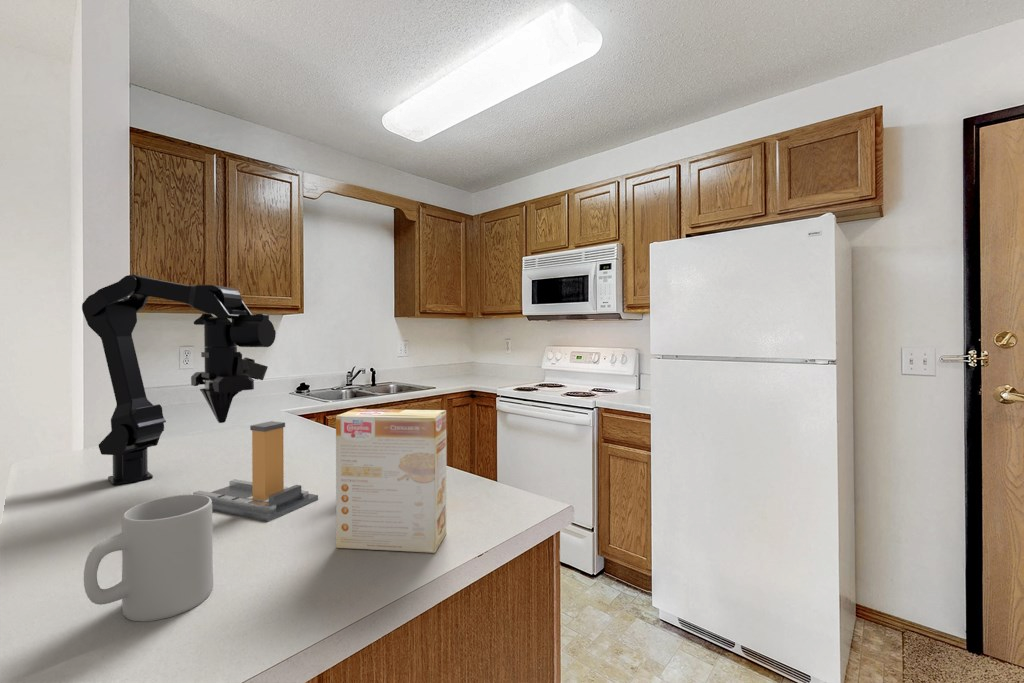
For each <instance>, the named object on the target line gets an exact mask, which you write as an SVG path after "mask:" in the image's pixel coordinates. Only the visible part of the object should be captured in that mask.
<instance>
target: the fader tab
mask: <svg viewBox="0 0 1024 683" xmlns="http://www.w3.org/2000/svg"><path fill="white" fill-rule="evenodd" d="M249 427H250V431H251V432H252V434H251V435H252V437H251V440H252V442H251V448H252V449H251V453H252V454H251V456H252V457H251V458H252V460H251V462H252V463H251V466H252V468H251V471H252V472H251V473H252V474H251V475H252V476H251V478H252V479H251V480H252V481H251V482H252V496H251V497H249V498H247V499H248V500H251V499H252V500H254V501H259V502H264V503H269V495H271V494H273V493H276V492H279V491H281V490H284V487H285V486H284V485H285V484H284V483H285V482H284V478H285V476H284V475H285V473H284V464H285V462H284V428H286V422H283V421H282V422H281V421H274V420H270V421H265V422H261V423H257V424H256V423H255V424H251V425H249Z"/></svg>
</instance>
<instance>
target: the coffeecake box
mask: <svg viewBox="0 0 1024 683" xmlns="http://www.w3.org/2000/svg"><path fill="white" fill-rule="evenodd" d="M335 490H336V491H335V531H336V532H335V534H336V535H335V542H336V543H335V545H336V546H335V547H336V549H350V550H351V549H352V550H353V549H355V550H356V549H357V550H373V551H374V550H375V551H391V552H392V551H393V552H394V551H395V552H412V553H430V554H436V553H437V551H438V548H439V546H440V544H441V543H442V541H443V540H444V538H445V537H446V535H447V410H446V409H443V410H442V409H397V408H396V409H395V408H394V409H390V408H388V409H387V408H384V409H383V408H380V409H379V408H368V409H367V408H354V409H351V410H348V411H346V412H343V413H339V414H337V415H336V416H335Z"/></svg>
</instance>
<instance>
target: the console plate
mask: <svg viewBox="0 0 1024 683" xmlns="http://www.w3.org/2000/svg"><path fill="white" fill-rule="evenodd" d="M228 482H229V485H228V486H226V487H223V488H220V489H216V490H213V491H205V490H196V491H194V492H192V495H204V496H207V497H209V498H211V500H212V511H213V512H220V513H224V514H228V513H229V514H230V515H233V514H234V516H238V515H239V517H244V518H248V517H249V518H250V519H254V520H258V519H259V520H258V521H263V520H264V521H263V522H271V521H273V520H275V519H277V518H279V516H280V517H281V516H284V515H287V514H288V512H289V513H291V512H293V511H295V510H298V509H300V508H302V507H304V506H306V505H308V504H310V503H313V502H316V501H318V500H319V495H318V494H313V493H309V490H308V491H307V490H303V489H302V485H301V484H294V485H292V486H290V487H288V486H284V490H281V491H279V492H276V493H273V494H271V495H269V503H264V502H259V501H254V500H252V499H251V500H248V499H247V498H249V497H251V496H252V481H249V480H248V481H247V480H242V479H231V480H229V481H228ZM272 519H273V520H272ZM270 520H271V521H270Z"/></svg>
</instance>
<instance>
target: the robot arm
mask: <svg viewBox="0 0 1024 683" xmlns="http://www.w3.org/2000/svg"><path fill="white" fill-rule="evenodd" d="M150 297H152V298H157V299H158V298H159V299H163V300H168V301H173V302H179V303H183V304H186V305H188V306H190V307H191V308H193V309H195V310H197V311H200V312H203V313H202V314H200V315H201V316H199V317H198V318H197V319H195V320H194V321H193V324H194V325H196V326H197V325H198V326H203V329H204V331H203V332H204V333H203V334H204V335H203V336H204V340H203V342H204V348H203V351H201V352H200V353H201V356H200V357H201V358H204V371H196V372H194V374H193V373H192V375H191V376H190V382H191V383H190V384H191V386H193V387H198V386H200V385H204V388H200V389H199V391H200V392H201V394H202V396H203V397H204V399H205V400H206V402H207V404H208V406H209V408H210V409H211V411H212V413H213V415H214V417H215V419H216V421H217V423H219V424H224V423H226V421H227V418H228V414H229V411H230V408H231V405H232V402H233V400H234V398H235V396H236V395H238V394H239V393H240V392H243V391H252V390H255V386H254V385H255V383H254V382H255V380H260V381H263V380H264V379H265V376H266V373H267V370H268V366H267V365H264V364H261V363H259V362H258V363H257V362H256V361H255V360H256V359H253V358H250V357H244V358H243V353H241V351H238V347H239V348H269V347H271V346H272V345H273V344H274V342H275V340H276V336H277V334H276V333H277V332H276V330H275V327H274V324H273V322H272V321H271V320H270V315H269V314H267V313H256V314H253V313H252V312H251V311H250V309H249V308H248V307H247V304H246V303H245V302H244V301H243V299H242V295H241V293H240V291H239V289H237V288H234V287H229V286H222V285H221V286H220V285H213V284H195V285H190V284H189V285H188V284H183V283H177V282H173V281H167V280H161V279H156V278H152V277H150V276H146V275H139V274H129V275H125V276H124V277H122V278H121V279H120V280H118V281H116V282H114V283H111V284H109V285H107V286H103V287H102V288H100V289H98V290H97V291H95V292H94V293H93V294H89V296H88V297H86V299H85V300H84V301H83V302H82V303H81V304H82V305H81V310H82V314H83V316H84V318H85V321H86V323H87V326H88V327H89V328H90V329H91V330H92V331H93V332H94V333H95V334H96V335H97V336H98V337H99V338H100V339H101V343H102V348H103V352H104V356H105V360H106V365H107V368H108V372H109V378H110V381H111V386H112V389H113V394H114V398H115V401H116V406H115V408H114V410H113V414H112V416H111V418H110V427H111V431H110V432H109V433H108V434H107V435H106V436H105V437H104V438H103V440H101V442H99V444H98V449H99V451H100V454H101V455H103V456H112V475H109V476H107V479H108V481H109V482H110V483H111V484H112V485H113V486H117V485H121V484H122V485H123V484H127V483H132V482H133V483H134V482H138V481H144V480H150V479H153V477H154V476H153V474H152V473H150V471H148V470H149V469H148V468H149V467H148V464H149V462H148V461H149V460H148V456H149V455H148V448H151V447H156V446H158V443H159V440H160V439H161V438H160V437H161V435H162V433H163V432H164V431H165V423H166V422H167V421H166V419H165V417H164V414H163V407H162V405H161V404H159V403H158V404H153V403H152V402H151V401H150V400H149V399H148V398H147V395H146V390H145V386H144V382H143V376H142V374H141V370H140V365H139V360H138V356H137V353H136V348H135V345H134V340H133V336H132V334H133V332H134V330H135V327H136V325H137V322H138V315H137V313H138V312H139V311H140V310H142V309H143V308H145V306H146V305H147V302H148V299H149V298H150Z"/></svg>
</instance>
